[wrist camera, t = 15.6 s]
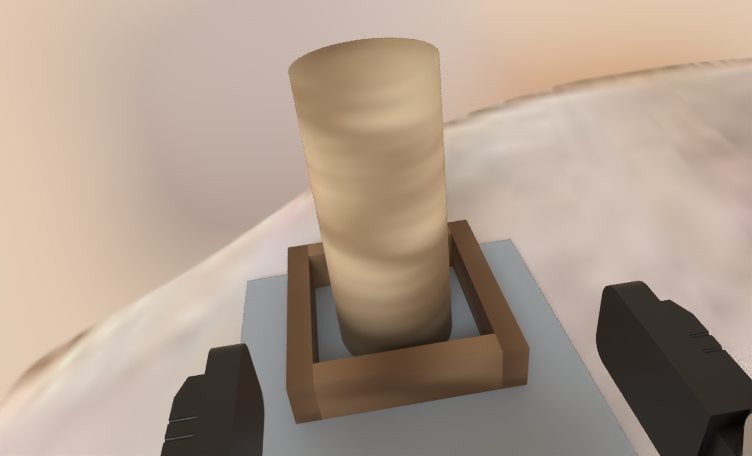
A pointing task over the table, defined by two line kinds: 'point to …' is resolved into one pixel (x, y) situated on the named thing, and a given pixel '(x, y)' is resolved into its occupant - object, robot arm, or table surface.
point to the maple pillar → (379, 187)
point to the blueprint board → (446, 416)
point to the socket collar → (403, 366)
